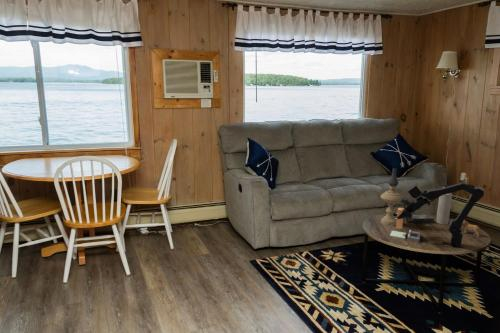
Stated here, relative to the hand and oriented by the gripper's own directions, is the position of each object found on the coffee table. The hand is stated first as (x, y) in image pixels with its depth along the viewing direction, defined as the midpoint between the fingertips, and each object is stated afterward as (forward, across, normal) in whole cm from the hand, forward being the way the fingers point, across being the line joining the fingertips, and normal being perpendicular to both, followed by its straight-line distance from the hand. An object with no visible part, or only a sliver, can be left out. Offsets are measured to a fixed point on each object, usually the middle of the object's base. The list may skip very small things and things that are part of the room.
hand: (397, 217), depth 248 cm
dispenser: (+1, 0, +16) cm, 16 cm away
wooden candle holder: (+14, -22, +4) cm, 26 cm away
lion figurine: (-22, -28, +40) cm, 53 cm away
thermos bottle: (-10, -43, +28) cm, 52 cm away
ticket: (+4, 0, +6) cm, 7 cm away
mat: (+8, 0, +9) cm, 12 cm away
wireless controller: (+2, -38, +16) cm, 42 cm away
